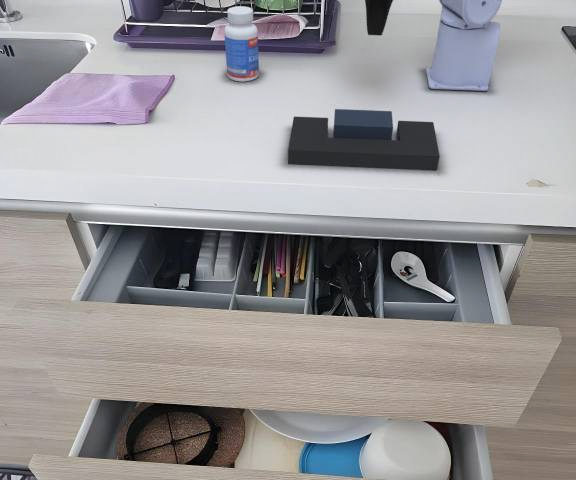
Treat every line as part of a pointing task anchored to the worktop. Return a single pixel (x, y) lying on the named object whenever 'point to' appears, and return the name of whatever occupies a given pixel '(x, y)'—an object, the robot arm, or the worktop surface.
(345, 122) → the dark blue block
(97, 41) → the worktop surface
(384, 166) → the black u-shaped block
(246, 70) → the pill bottle
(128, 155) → the worktop surface
